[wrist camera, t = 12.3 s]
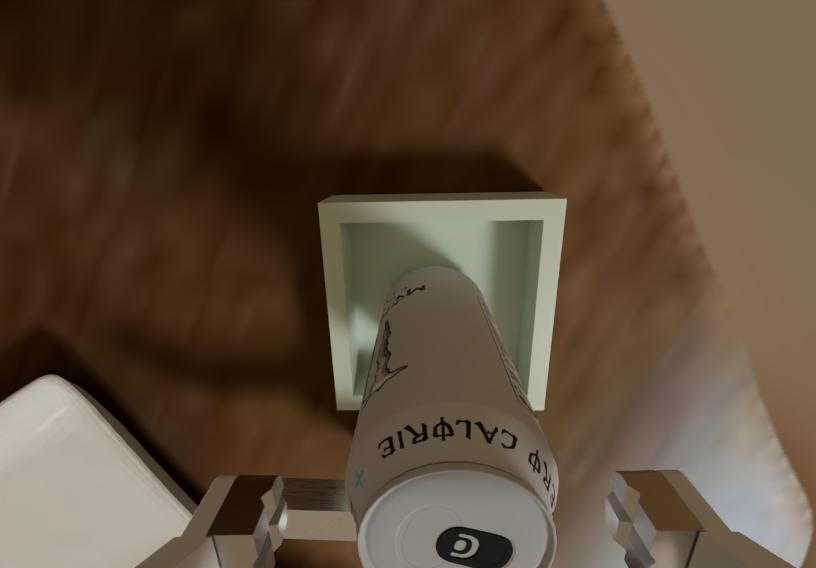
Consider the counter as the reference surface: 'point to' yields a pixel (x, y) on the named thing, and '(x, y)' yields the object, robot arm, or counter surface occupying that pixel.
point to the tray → (448, 247)
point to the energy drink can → (448, 439)
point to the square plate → (79, 484)
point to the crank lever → (318, 510)
